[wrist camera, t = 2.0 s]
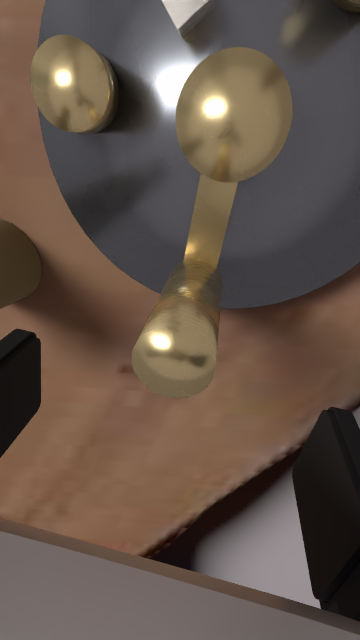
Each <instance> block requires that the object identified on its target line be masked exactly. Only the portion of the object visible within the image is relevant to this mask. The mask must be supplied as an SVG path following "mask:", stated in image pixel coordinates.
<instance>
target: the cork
mask: <svg viewBox="0 0 360 640" xmlns="http://www.w3.org/2000/svg"><path fill="white" fill-rule="evenodd" d="M41 273H42V268H41V262H40V257H39V255H38V253H37V250H36V248H35V246H34V244H33V243H32V242H31V241H30V239H29V238H28V237H27V236H26V234H25V233H24V232H23V231H21V230H20V229H19V228H17V227H16V226H14V225H13V224H12V223H9V222H7V221H4V220H2V219H0V309H1V308H3V307H5V306H7V305H9V304H12V303H14V302H16V301H18V300H21V299H23V298H25V297H27V296H28V295H30V294H31V293H32V292H34V291H35V290H36V288H37V286H38V284H39V283H40V279H41Z"/></svg>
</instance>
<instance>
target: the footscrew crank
mask: <svg viewBox="0 0 360 640" xmlns="http://www.w3.org/2000/svg"><path fill="white" fill-rule="evenodd" d="M291 121H292V97H291V92H290V88H289V85H288V83H287V80H286V78H285V76H284V74H283V72H282V71H281V69H280V68H279V67H278V65H277V64H276V63H275V62H274V61H273V60H272V59H271V58H269V57H268V56H266V55H265V54H263V53H261V52H259V51H257V50H254V49H251V48H246V47H231V48H227V49H223V50H220V51H217V52H215V53H213V54H212V55H210V56H208V57H207V58H205V59H204V60H203V61H202V62H200V63H199V64H198V65H197V66H196V67H195V68H194V70H193V71H192V72H191V74H190V75H189V76H188V78H187V80H186V81H185V83H184V85H183V87H182V90H181V92H180V95H179V98H178V102H177V107H176V116H175V122H176V133H177V137H178V142H179V144H180V147H181V150H182V151H183V153H184V155H185V157H186V158H187V160H188V161H189V163H190V164H191V165H192V166H193V167H194V168H195V169H196V170H197V171H199V172H200V173H201V175H200V180H199V185H198V190H197V195H196V200H195V205H194V210H193V215H192V220H191V225H190V230H189V236H188V241H187V246H186V251H185V256H184V260H183V261H181V262H180V263H178V264H177V265H176V266H175V268H174V269H173V271H172V273H171V275H170V276H169V278H168V280H167V282H166V284H165V286H164V288H163V290H162V292H161V294H160V296H159V298H158V300H157V302H156V304H155V306H154V308H153V310H152V312H151V314H150V316H149V318H148V320H147V322H146V324H145V326H144V328H143V330H142V332H141V334H140V336H139V338H138V340H137V342H136V344H135V346H134V348H133V351H132V359H131V360H132V366H133V370H134V372H135V374H136V376H137V378H138V379H139V380H140V381H141V382H142V384H143V385H145V386H146V387H147V388H148V389H150V390H151V391H153V392H155V393H157V394H159V395H162V396H165V397H170V398H186V397H190V396H193V395H196V394H198V393H200V392H201V391H203V390H204V389H205V388H206V387H208V385H209V384H210V383H211V381H212V379H213V377H214V374H215V368H216V357H217V345H218V333H219V321H220V310H221V298H222V286H223V281H222V276H221V273H220V271H219V270H218V268H217V264H218V260H219V256H220V252H221V248H222V244H223V240H224V236H225V232H226V228H227V224H228V220H229V216H230V212H231V208H232V204H233V200H234V196H235V192H236V188H237V184H238V181H242V180H245V179H248V178H250V177H253V176H255V175H256V174H258V173H260V172H261V171H262V170H264V169H265V168H266V167H267V166H268V165H269V164H270V163H272V162H273V160H274V159H275V158H276V157H277V155H278V154H279V152H280V151H281V149H282V147H283V145H284V143H285V141H286V139H287V136H288V133H289V130H290V126H291Z"/></svg>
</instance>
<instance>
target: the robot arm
mask: <svg viewBox="0 0 360 640" xmlns="http://www.w3.org/2000/svg"><path fill="white" fill-rule="evenodd" d="M40 403H41V342H40V339H39V338H37V337H36V334H35V333H33V332H29V331H25V330H21V329H15V330H13V331H12V332H11V333H10V334H8V335H7V336H6V337H4V338H3V339H2V340H0V458H1V456H2V455H3V454H4V453H5V451H6V450H7V449H8V448H9V446H10V445H11V444H12V443H13V441H14V440H15V439H16V437H17V436H18V435H19V434H20V432H21V431H22V430H23V429H24V427H25V426H26V425H27V424H28V422H29V421H30V420H31V418H32V417H33V416H34V415H35V413H36V412H37V411H38V409H39V407H40ZM292 478H293V484H294V490H295V495H296V501H297V507H298V512H299V518H300V524H301V530H302V535H303V541H304V547H305V552H306V557H307V563H308V569H309V575H310V580H311V586H312V591H313V595H314V597H315V598H316V599H319V601H320V605H321V609H319V608H316V607H313V606H309V605H306V604H303V603H299V602H296V601H293V600H289V599H286V598H283V597H280V596H276V595H273V594H269V593H266V592H262V591H258V590H255V589H252V588H248V587H245V586H241V585H238V584H234V583H231V582H227V581H224V580H220V579H217V578H213V577H210V576H206V575H203V574H199V573H196V572H192V571H189V570H185V569H182V568H178V567H174V566H171V565H168V564H164V563H160V562H157V561H153V560H150V559H146V558H143V557H139V556H136V555H132V554H129V553H125V552H121V551H118V550H114V549H111V548H107V547H103V546H100V545H96V544H93V543H89V542H86V541H82V540H78V539H75V538H71V537H68V536H64V535H60V534H57V533H53V532H49V531H46V530H42V529H38V528H35V527H31V526H27V525H24V524H20V523H16V522H13V521H9V520H5V519H2V518H0V640H360V429H359V427H358V424H357V422H356V420H355V418H354V416H353V414H352V412H350V411H347V410H343V409H339V408H335V407H330V408H329V409H328V410H323V411H322V412H321V414H320V416H319V418H318V420H317V422H316V424H315V426H314V428H313V430H312V432H311V434H310V436H309V438H308V440H307V442H306V443H305V445H304V447H303V449H302V451H301V453H300V455H299V457H298V459H297V461H296V463H295V465H294V468H293V472H292Z"/></svg>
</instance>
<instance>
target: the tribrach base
mask: <svg viewBox="0 0 360 640" xmlns="http://www.w3.org/2000/svg"><path fill="white" fill-rule="evenodd" d="M231 47H246V48H251V49H254V50H257V51H259V52H261V53H263V54H265V55H266V56H268V57H269V58H271V59H272V60H273V61H274V62H275V63H276V64H277V65H278V67H279V68H280V69H281V71H282V72H283V74H284V76H285V78H286V80H287V83H288V85H289V88H290V92H291V97H292V121H291V126H290V130H289V133H288V136H287V139H286V141H285V143H284V145H283V147H282V149H281V151H280V152H279V154H278V155H277V157H276V158H275V159H274V160H273V162H272V163H270V164H269V165H268V166H267V167H266V168H265V169H264V170H262V171H261V172H260V173H258V174H256V175H255V176H253V177H250V178H248V179H245V180H242V181H238V184H237V188H236V192H235V196H234V200H233V204H232V208H231V212H230V216H229V220H228V224H227V228H226V232H225V236H224V240H223V244H222V248H221V252H220V256H219V260H218V264H217V268H218V270H219V271H220V273H221V276H222V281H223V286H222V298H221V308H225V309H240V308H255V307H260V306H266V305H271V304H277V303H280V302H283V301H286V300H290V299H293V298H296V297H299V296H302V295H304V294H306V293H309V292H311V291H313V290H316V289H318V288H320V287H322V286H324V285H326V284H327V283H329V282H331V281H333V280H334V279H336V278H338V277H340V276H341V275H343V274H344V273H346V272H347V271H349V270H350V269H351V268H353V267H354V266H356V265H357V264H358V263H360V0H46V2H45V6H44V10H43V14H42V20H41V27H40V34H39V41H38V49H37V51H36V53H35V55H34V58H33V60H32V64H31V71H30V82H31V89H32V93H33V97H34V99H35V102H36V104H37V106H38V113H39V118H40V124H41V130H42V135H43V141H44V145H45V148H46V152H47V155H48V159H49V162H50V166H51V169H52V171H53V174H54V176H55V179H56V181H57V184H58V186H59V189H60V191H61V193H62V195H63V197H64V199H65V201H66V203H67V205H68V207H69V208H70V210H71V212H72V214H73V216H74V217H75V219H76V220H77V222H78V223H79V225H80V226H81V227H82V229H83V230H84V232H85V233H86V235H87V236H88V237H89V238H90V239H91V241H92V242H93V243H94V244H95V245H96V246H97V248H98V249H99V250H100V251H101V252H102V253H103V254H104V255H105V256H106V257H107V258H108V259H109V260H110V261H111V262H112V263H114V264H115V265H116V266H117V267H118V268H119V269H121V270H122V271H123V272H125V273H126V274H127V275H129V276H130V277H131V278H133V279H134V280H136V281H138V282H139V283H141V284H143V285H144V286H146V287H148V288H150V289H151V290H153V291H156V292H158V293H160V294H161V292H162V290H163V288H164V286H165V284H166V282H167V280H168V278H169V276H170V275H171V273H172V271H173V269H174V268H175V266H176V265H177V264H178V263H180V262H181V261H183V260H184V256H185V251H186V246H187V241H188V236H189V230H190V225H191V220H192V215H193V210H194V205H195V200H196V195H197V190H198V185H199V180H200V175H201V173H200V172H199V171H197V170H196V169H195V168H194V167H193V166H192V165H191V164H190V163H189V161H188V160H187V158H186V157H185V155H184V153H183V151H182V150H181V147H180V144H179V142H178V137H177V133H176V122H175V116H176V107H177V102H178V98H179V95H180V92H181V90H182V87H183V85H184V83H185V81H186V80H187V78H188V76H189V75H190V74H191V72H192V71H193V70H194V68H195V67H196V66H197V65H198V64H199V63H200V62H202V61H203V60H204V59H205V58H207V57H208V56H210V55H212V54H213V53H215V52H217V51H220V50H223V49H227V48H231Z"/></svg>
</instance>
